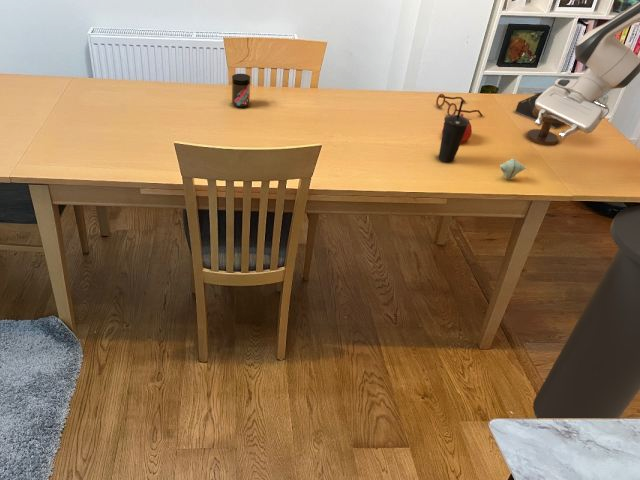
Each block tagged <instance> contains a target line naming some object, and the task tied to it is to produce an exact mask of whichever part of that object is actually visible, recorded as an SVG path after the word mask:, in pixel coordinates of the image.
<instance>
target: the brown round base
mask: <svg viewBox="0 0 640 480" xmlns="http://www.w3.org/2000/svg"><path fill="white" fill-rule="evenodd" d="M532 113H533V115H534V116H535V117H537V118H538V115H539V110H537V108H536V106H535V107H534V109H533V111H532ZM542 120H543V121H544V122H543V123H542V124H541V126H540V127H541V128H533V129H530V130H529V131H528V132H527V133H526V139H528V140H529V141H530V142H532V143H534V144H537V145H540V146H554V145H555V144H557V143H558V140H559V137H558V135H556V133H554V132H552V131H550V130H551V128H552V127H551V125H552V123H563V122H561V121H559V120H557V119H555V118H553V117H551V116H549V115H546V116H545V117H544V116H543V118H542Z"/></svg>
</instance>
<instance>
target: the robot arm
mask: <svg viewBox="0 0 640 480" xmlns="http://www.w3.org/2000/svg"><path fill="white" fill-rule="evenodd" d="M637 22H640V0H638V1H636V2H635V3H634V4H632V5H630V6H628V7H626V9H624V10H622V11H621V12H619V13H618V14H617V15H614V16H613V17H612V18H610V19H609V20H607V21H605V22H604V23H602V24H600V25H598V26H596V27H594V28H593V29H591V30H589V31H588V32H586V33H584V34H583V35H582V37H580V38H579V40H578V41H577V42H576V44H575V46H574V58H575V60H576V61H577V62H579V63H581V64H582V65H583V66H585V67H586V68H587V69H586V71H585V72H584V73H583V74H581V75H580V76H579V77H578V78H562V77H561V78H557V79H556V80H555V81H554V85H551V86H549V87H547V88H546V89H545V90H544V91H542V92H543V93H542V94H541V95H540V96H539V97H538V98H537V99H536V101H535V106H536V108H537V110H539V115H538V118H537V120H534V125H535V126H537V127H541V126H542V125H543V121H542V118H543V116H544V117H545V116H546V115H549V116H551V117H553V118H555V119H557V120H559V121H561V122H563V123H565V124H564V125H568V126H569V127H570V128H569V129H567V130H563V129H562V131H561V132H560V133H559V138H560V139H562V140H565V139H566V138H568V136H571V135H574V134H576V133H577V132H578V131H579V132H582V133H583V134H585V135H588V134H591V133H592V132H594V131H595V129H596V128H597V127H598V125H600V123H601V121H602V120H603V119H605V118H606V117H607V116H608V114H609V113H610V108H609V105H608V104H605V103H603V102H600V101H599V100H600V99H601V98H602V97H603V96H604V94H605V93H606V91H607V90H608V89H609V88H610V89H624V88H626V87H627V86H628V85H630V83H631V82H632V81H633V80H634V79H635V78H636V77H637V76H638V75H639V74H640V57H639V56H638V55H637V54H636V53H635V52H634V51H633V50H632V49H631V47H629V46H628V45H626V44H624V43H623V42H622V41H621V40H620V39H618V38H617V36H616V35H619V34H620V33H622V32H623V31H625V30H626V29H628V28H630V27H631V26H632V25H634V24H636V23H637Z"/></svg>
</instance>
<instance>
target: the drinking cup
mask: <svg viewBox="0 0 640 480" xmlns="http://www.w3.org/2000/svg"><path fill="white" fill-rule="evenodd" d="M460 100H461V99H460ZM464 100H465V99H464ZM464 100H461V101H460V104H459V107H458V110H459V111H457V114H455V115H452V114H450V115H448V114H447V115H446V116H445V117H444V118H443V121H444V122H445V123H444V122H443V125H444V129H443V128H442V130H443V135H442V134H441V141H440V146H439V153H438V160H439V161H440V162H442V163H445V164H451V163H453V162H454V161H455V158H456V155H457V153H458V150H459V148H460V145H461V144H462V142H461V141H462V138H463V136H464V133H465V131H466V128H467V126H468V125H469V122H470V120H469V118H467V117H465V116H464V115H463V116H461V113H462V112H461V110H462V108H463V104H464V102H463V101H464Z"/></svg>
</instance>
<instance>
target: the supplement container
mask: <svg viewBox="0 0 640 480" xmlns="http://www.w3.org/2000/svg"><path fill="white" fill-rule="evenodd" d="M250 100H251V75H249V74H246V73H235V74H232V76H231V105H232V106H233V107H235V108H238V109H244V108H248V107H249V106H250Z"/></svg>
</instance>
